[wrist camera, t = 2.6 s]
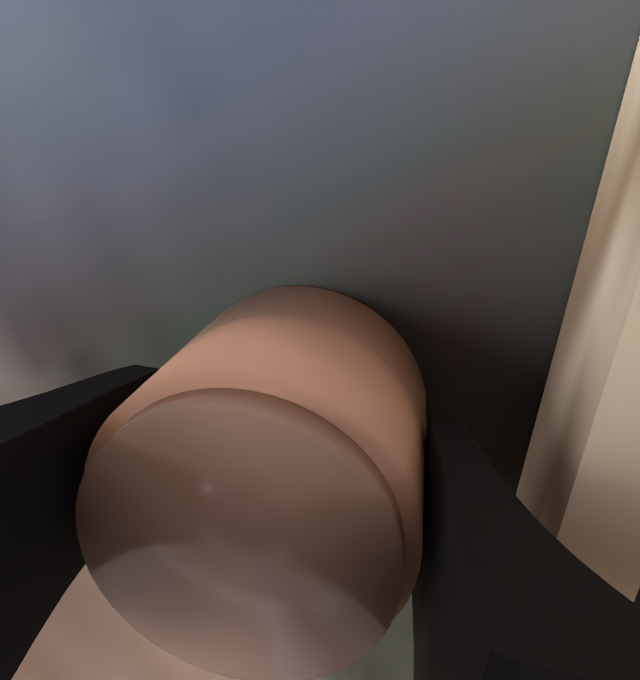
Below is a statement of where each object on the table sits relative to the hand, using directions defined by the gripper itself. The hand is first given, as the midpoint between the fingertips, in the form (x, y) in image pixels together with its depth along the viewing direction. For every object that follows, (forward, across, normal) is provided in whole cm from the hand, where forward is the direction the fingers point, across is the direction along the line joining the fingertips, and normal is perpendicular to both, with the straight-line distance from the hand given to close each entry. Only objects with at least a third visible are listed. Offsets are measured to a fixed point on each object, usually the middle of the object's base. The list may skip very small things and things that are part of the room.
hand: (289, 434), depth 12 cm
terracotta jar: (+1, 0, 0) cm, 1 cm away
